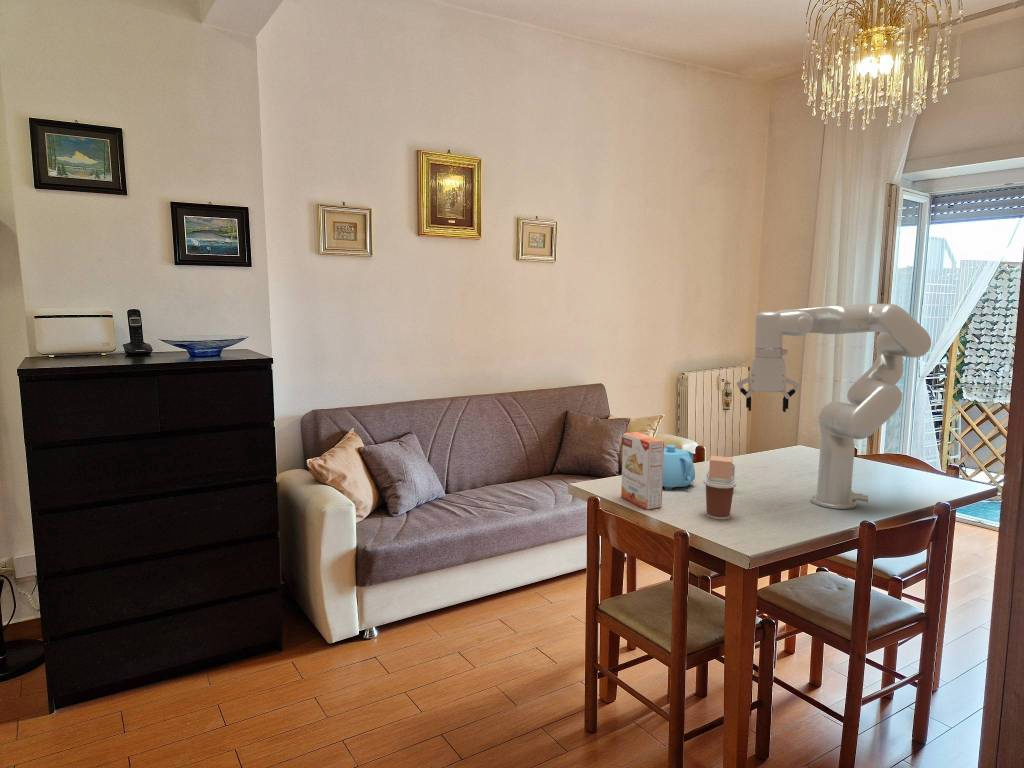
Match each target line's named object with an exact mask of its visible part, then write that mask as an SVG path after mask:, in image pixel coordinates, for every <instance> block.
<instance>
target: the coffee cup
mask: <svg viewBox="0 0 1024 768" xmlns="http://www.w3.org/2000/svg"><path fill="white" fill-rule="evenodd" d="M706 477H707V478H706ZM706 477H705V478H704V479H703V484H704V485H705V501H706V502H705V505H706V516H707V517H708V518H709V519H713V520H728V519H730V517H731V510H732V502H733V496H734V489H735V487H737V482H736V481H735V479H734V480H733V477H732V476H731V479H722V478H712V477H709V474H708V475H707V474H706Z"/></svg>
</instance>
